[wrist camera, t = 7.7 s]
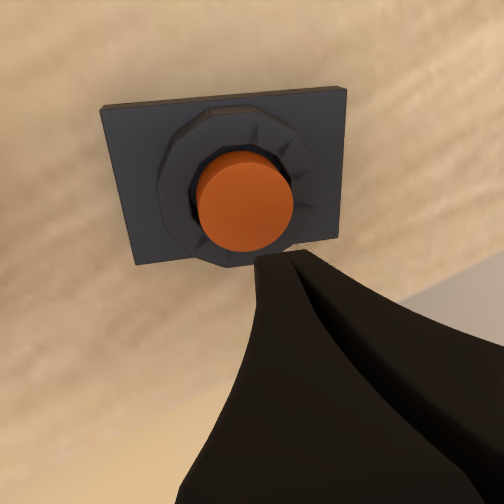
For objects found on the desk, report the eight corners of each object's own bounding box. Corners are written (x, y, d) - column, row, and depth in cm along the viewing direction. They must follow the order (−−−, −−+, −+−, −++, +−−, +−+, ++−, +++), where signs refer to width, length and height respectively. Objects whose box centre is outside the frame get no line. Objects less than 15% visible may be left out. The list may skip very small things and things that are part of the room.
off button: (201, 238, 17) (204, 258, 15) (190, 154, 15) (192, 168, 14) (283, 227, 17) (293, 246, 16) (281, 145, 16) (293, 157, 14)
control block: (137, 253, 20) (132, 287, 17) (103, 104, 16) (90, 118, 13) (330, 228, 21) (353, 255, 18) (337, 85, 17) (366, 94, 15)
